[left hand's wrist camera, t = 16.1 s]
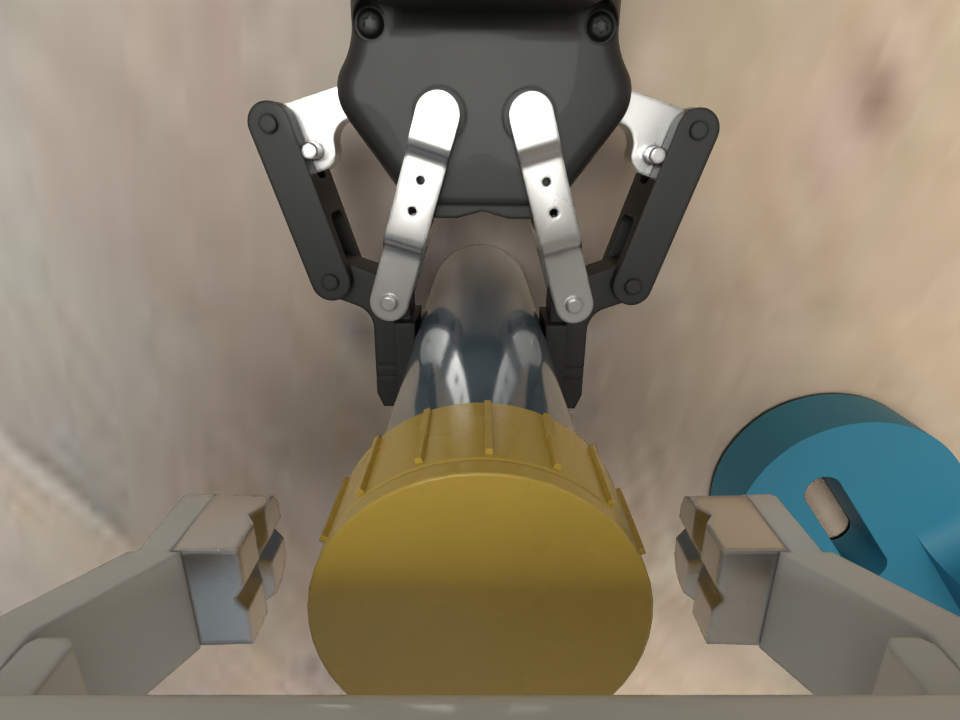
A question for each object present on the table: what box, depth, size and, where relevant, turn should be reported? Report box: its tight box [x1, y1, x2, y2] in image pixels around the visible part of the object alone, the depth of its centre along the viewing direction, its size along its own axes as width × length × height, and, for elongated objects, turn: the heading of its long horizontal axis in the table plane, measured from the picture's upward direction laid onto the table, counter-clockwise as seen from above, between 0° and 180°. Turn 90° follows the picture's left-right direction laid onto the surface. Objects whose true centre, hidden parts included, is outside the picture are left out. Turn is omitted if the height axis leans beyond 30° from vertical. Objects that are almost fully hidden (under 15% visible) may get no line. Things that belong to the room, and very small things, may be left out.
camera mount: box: [710, 394, 960, 617], centre depth 26 cm, size 18×10×10 cm, turn 37°
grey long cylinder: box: [385, 245, 575, 434], centre depth 18 cm, size 4×4×19 cm
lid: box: [307, 400, 653, 695], centre depth 10 cm, size 5×5×2 cm
